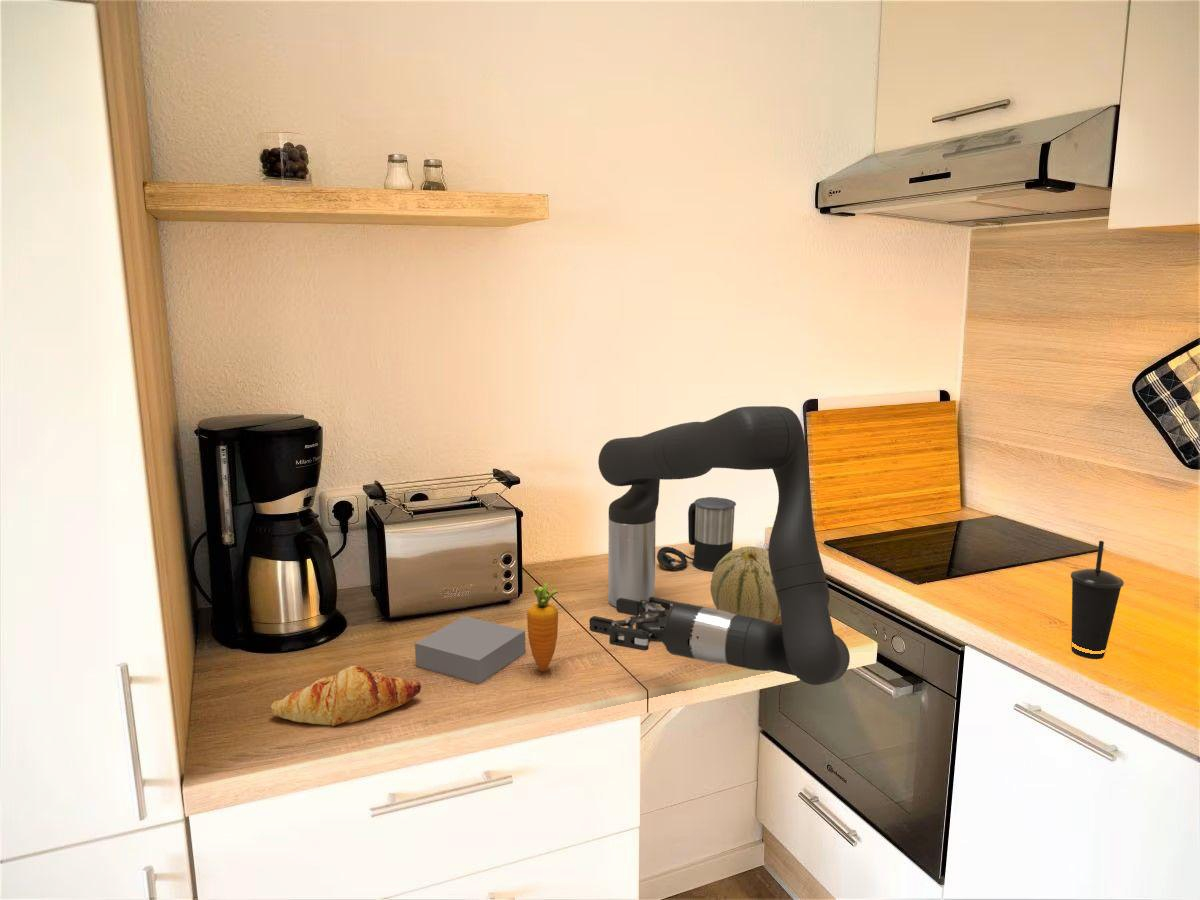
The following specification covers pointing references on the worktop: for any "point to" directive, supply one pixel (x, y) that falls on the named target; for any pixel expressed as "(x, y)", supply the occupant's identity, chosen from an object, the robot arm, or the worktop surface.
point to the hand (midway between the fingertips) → (604, 613)
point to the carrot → (542, 627)
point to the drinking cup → (1093, 607)
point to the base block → (470, 649)
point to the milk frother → (705, 534)
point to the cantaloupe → (745, 584)
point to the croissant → (346, 697)
